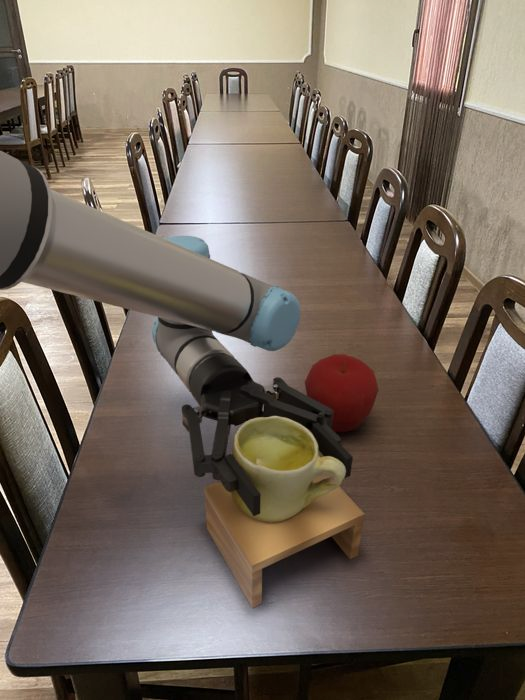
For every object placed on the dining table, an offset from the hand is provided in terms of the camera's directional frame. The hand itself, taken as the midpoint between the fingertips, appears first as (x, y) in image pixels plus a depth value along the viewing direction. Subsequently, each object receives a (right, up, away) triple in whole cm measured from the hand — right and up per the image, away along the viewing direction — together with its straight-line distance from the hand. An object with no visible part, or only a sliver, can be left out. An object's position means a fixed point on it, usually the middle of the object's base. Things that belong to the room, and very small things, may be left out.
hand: (304, 485), depth 54 cm
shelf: (-2, -9, +10) cm, 14 cm away
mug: (-2, -3, +6) cm, 7 cm away
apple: (+7, +2, +29) cm, 30 cm away
